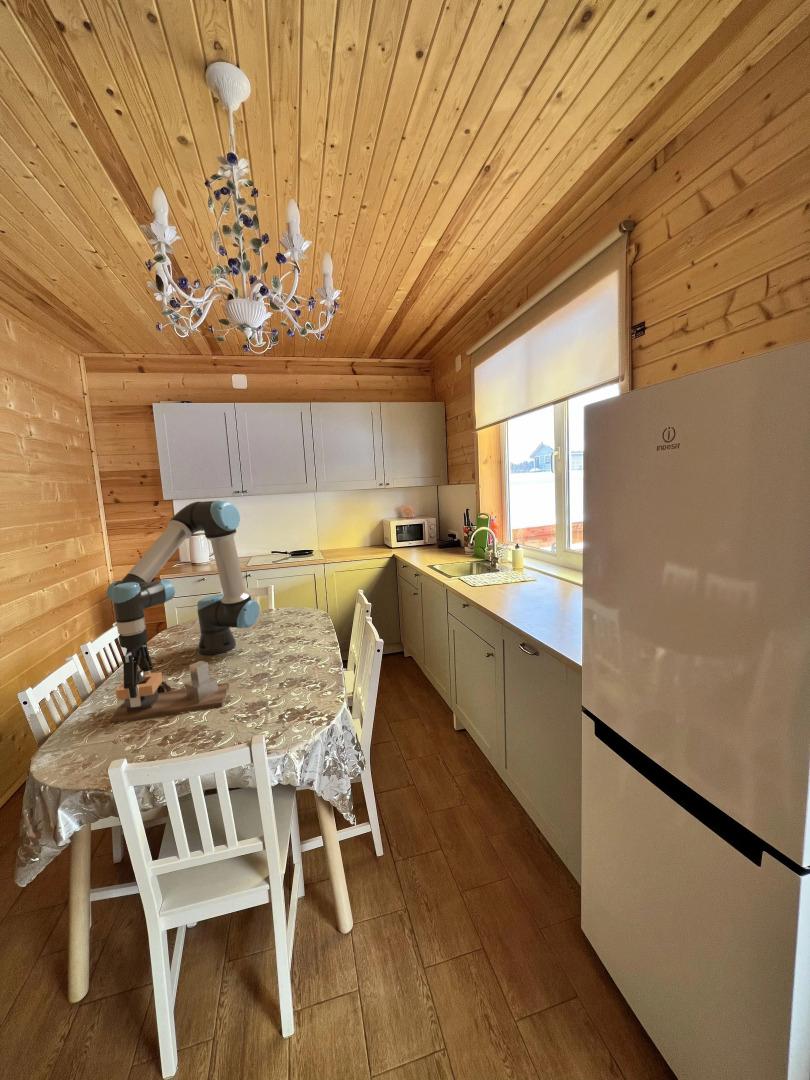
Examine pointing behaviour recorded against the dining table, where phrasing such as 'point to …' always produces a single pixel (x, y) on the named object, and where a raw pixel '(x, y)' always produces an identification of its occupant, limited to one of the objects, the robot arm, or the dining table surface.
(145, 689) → the collar
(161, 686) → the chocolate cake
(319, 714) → the dining table surface
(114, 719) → the board
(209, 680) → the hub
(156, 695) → the stand
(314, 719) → the dining table surface
